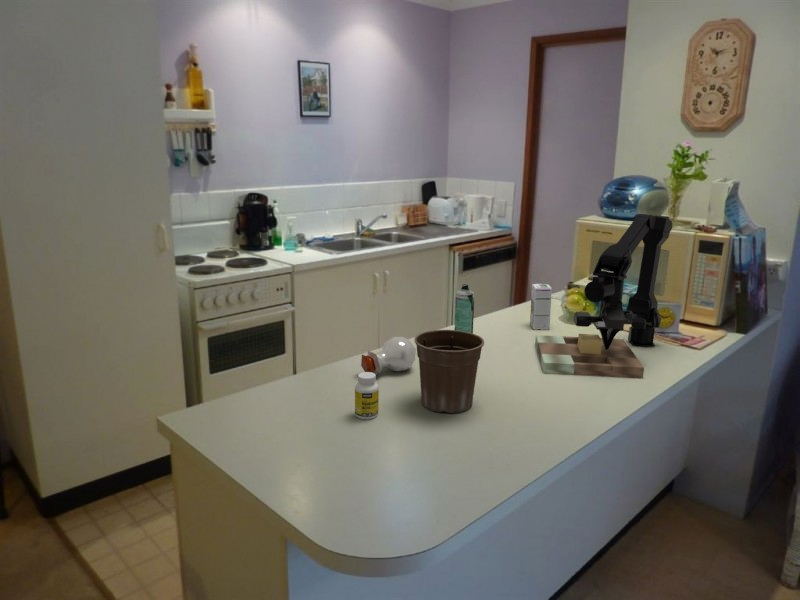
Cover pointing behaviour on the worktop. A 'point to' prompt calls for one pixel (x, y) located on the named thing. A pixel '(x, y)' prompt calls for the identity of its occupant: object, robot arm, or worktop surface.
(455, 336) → the plant pot
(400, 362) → the potion bottle
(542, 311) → the syrup box
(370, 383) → the supplement bottle
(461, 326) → the spray can
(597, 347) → the ochre block
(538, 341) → the trap board
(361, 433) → the worktop surface
